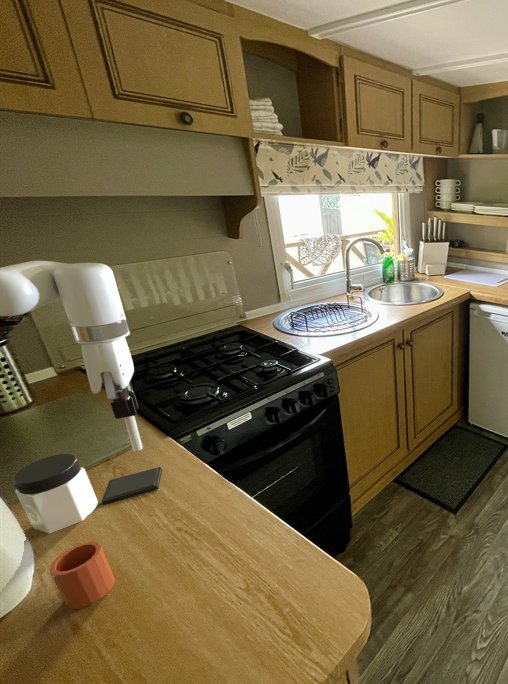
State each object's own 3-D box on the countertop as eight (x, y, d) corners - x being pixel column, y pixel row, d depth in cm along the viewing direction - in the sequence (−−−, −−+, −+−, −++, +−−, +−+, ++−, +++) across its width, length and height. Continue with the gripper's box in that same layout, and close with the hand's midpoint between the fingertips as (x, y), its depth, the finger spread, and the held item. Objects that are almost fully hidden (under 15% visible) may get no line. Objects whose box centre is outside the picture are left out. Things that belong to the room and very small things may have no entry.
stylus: (132, 453, 78) (115, 392, 73) (134, 449, 79) (117, 388, 75) (141, 451, 79) (125, 390, 74) (144, 447, 80) (128, 387, 75)
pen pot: (62, 618, 56) (43, 581, 53) (73, 586, 60) (56, 551, 58) (111, 599, 59) (95, 563, 56) (119, 570, 63) (104, 536, 60)
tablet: (102, 505, 76) (101, 501, 75) (110, 483, 81) (109, 479, 81) (158, 488, 80) (157, 485, 80) (162, 469, 86) (161, 465, 86)
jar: (24, 527, 70) (-2, 476, 66) (77, 496, 78) (57, 449, 73) (56, 540, 68) (32, 488, 64) (107, 506, 75) (88, 459, 71)
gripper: (86, 320, 74) (111, 400, 80) (59, 347, 62) (92, 439, 68) (135, 315, 78) (156, 392, 84) (118, 340, 65) (144, 428, 72)
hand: (127, 413), depth 76 cm, fingers closed on stylus, 1 cm apart
